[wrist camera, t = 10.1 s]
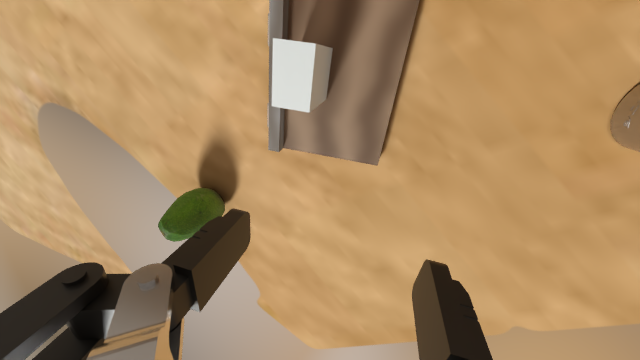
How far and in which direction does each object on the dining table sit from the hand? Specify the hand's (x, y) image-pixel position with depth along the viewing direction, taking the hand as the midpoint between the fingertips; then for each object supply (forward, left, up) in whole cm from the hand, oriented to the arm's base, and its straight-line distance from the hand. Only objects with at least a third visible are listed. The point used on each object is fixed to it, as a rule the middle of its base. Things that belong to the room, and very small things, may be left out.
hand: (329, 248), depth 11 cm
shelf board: (+4, -4, -26) cm, 27 cm away
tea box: (+7, -5, -24) cm, 26 cm away
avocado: (+25, +20, -26) cm, 42 cm away
